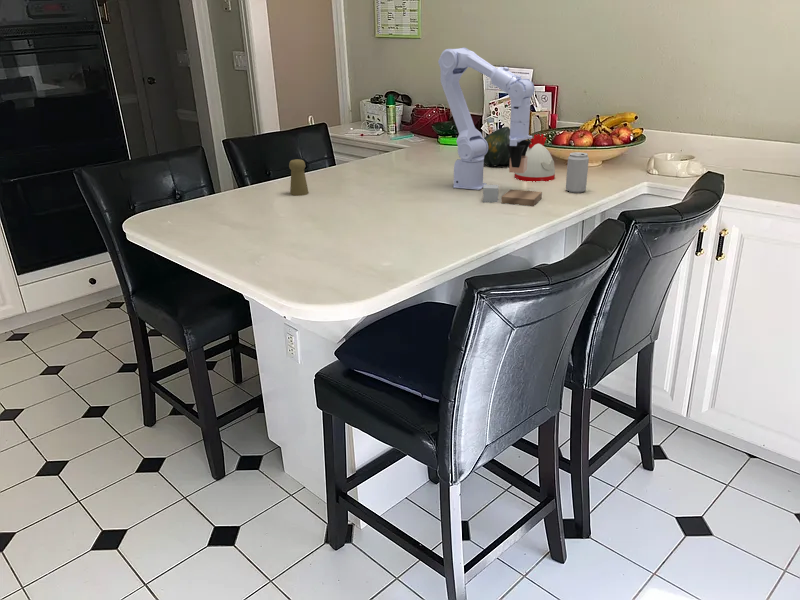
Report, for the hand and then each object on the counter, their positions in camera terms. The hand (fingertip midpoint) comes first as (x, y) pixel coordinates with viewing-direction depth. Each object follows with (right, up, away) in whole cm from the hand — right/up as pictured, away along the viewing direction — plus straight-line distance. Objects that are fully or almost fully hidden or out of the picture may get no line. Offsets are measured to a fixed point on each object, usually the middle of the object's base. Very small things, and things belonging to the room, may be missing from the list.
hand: (517, 165), depth 205 cm
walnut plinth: (0, -12, -5) cm, 13 cm away
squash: (+1, +10, +46) cm, 47 cm away
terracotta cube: (0, -2, +1) cm, 2 cm away
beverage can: (+20, -7, +6) cm, 22 cm away
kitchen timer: (+10, +1, +25) cm, 27 cm away
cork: (-70, -7, +9) cm, 71 cm away
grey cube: (-9, -12, -4) cm, 15 cm away
